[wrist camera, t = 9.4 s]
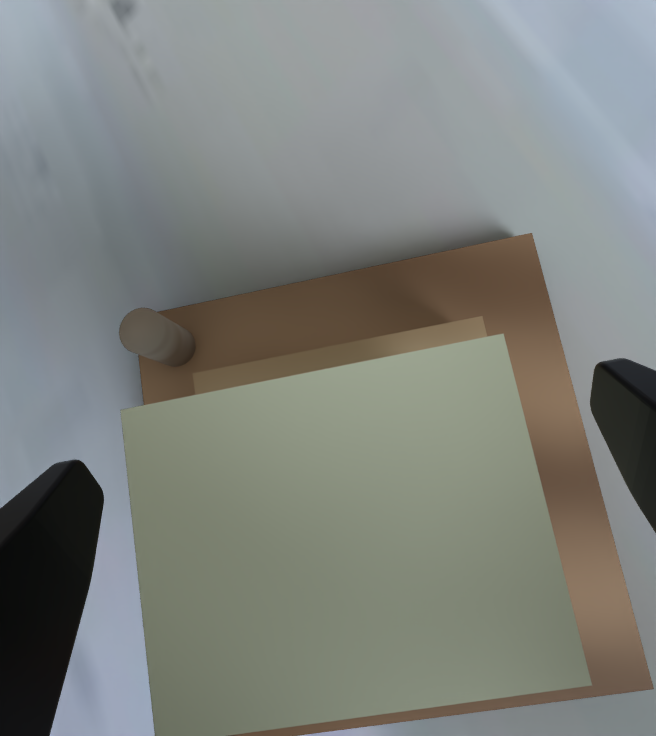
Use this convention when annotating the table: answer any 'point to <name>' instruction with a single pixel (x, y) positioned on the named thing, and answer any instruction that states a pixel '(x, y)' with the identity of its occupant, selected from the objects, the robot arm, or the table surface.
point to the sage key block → (346, 546)
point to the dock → (407, 334)
